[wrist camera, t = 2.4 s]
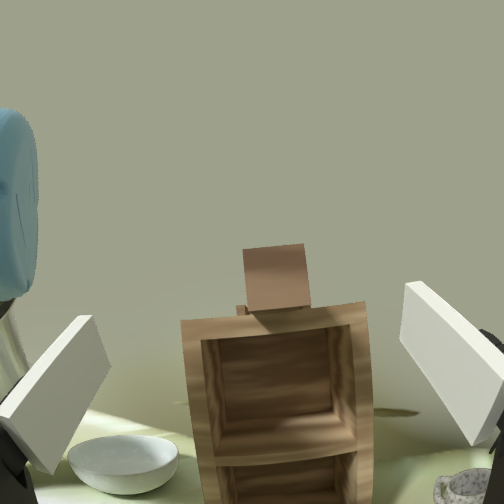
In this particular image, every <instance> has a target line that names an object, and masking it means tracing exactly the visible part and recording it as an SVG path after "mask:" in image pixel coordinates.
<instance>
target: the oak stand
mask: <svg viewBox="0 0 504 504" xmlns="http://www.w3.org/2000/svg"><path fill="white" fill-rule="evenodd" d="M236 309H237V316H233V317H220V318H207V319H193V320H181V333H182V343H183V354H184V364H185V374H186V382H187V391H188V399H189V407H190V415H191V422H192V429H193V436H194V442H195V449H196V455H197V461H198V467H199V473H200V478H201V484H202V489H203V494H204V499H205V504H372V493H373V467H374V416H373V389H372V371H371V357H370V344H369V333H368V324H367V314H366V305H365V301H363V302H356V303H349V304H343V305H335V306H327V307H320V308H311V306H310V305H309V306H306V307H303V308H300V309H297V310H294V311H285V312H275V313H265V314H255V315H251V314H250V312H248V308H247V307H246V306H245V305H239V306H236Z"/></svg>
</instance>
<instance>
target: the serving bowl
mask: <svg viewBox="0 0 504 504" xmlns="http://www.w3.org/2000/svg"><path fill="white" fill-rule="evenodd" d="M67 458H68V461H69V463H70V465H71V467H72V469H73V471H74V472H75V474H76V475H77V476H78V477H79V478H80V479H81V480H82V481H83V482H84V483H86V484H87V485H89V486H91V487H93V488H95V489H97V490H99V491H103V492H106V493H111V494H123V495H126V494H138V493H143V492H147V491H150V490H153V489H155V488H158V487H160V486H161V485H163V484H164V483H166V482H167V481H168V480H169V479H170V478H171V477H172V476H173V474H174V473H175V471H176V469H177V466H178V460H179V451H178V448H177V446H176V445H175V444H174V443H172V442H171V441H168V440H166V439H162V438H158V437H153V436H145V435H117V436H107V437H101V438H96V439H92V440H88V441H85V442H82V443H80V444H77V445H75V446H74V447H73V448H71V449H70V450H69V452H68V455H67Z"/></svg>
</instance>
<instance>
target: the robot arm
mask: <svg viewBox="0 0 504 504" xmlns="http://www.w3.org/2000/svg"><path fill="white" fill-rule="evenodd" d="M37 206H38V163H37V151H36V143H35V138H34V134H33V131H32V129H31V127H30V125H29V123H28V121H27V120H26V119H25V117H23V115H22V114H20V113H19V112H17V111H14V110H12V109H6V108H5V109H4V108H0V504H38V502H37V499H36V495H35V492H34V488H33V484H32V480H31V476H30V472H29V470H28V469H27V467H26V466H25V464H26V463H27V461H28V460H29V462H30V463H31V464H32V465H33V466H34V468H35V469H36V470H37V471H40V472H43V473H46V474H49V475H52V476H53V474H54V472H55V470H56V468H57V466H58V464H59V462H60V460H61V458H62V456H63V454H64V452H65V450H66V448H67V446H68V444H69V443H70V441H71V439H72V437H73V435H74V433H75V431H76V429H77V427H78V425H79V424H80V422H81V420H82V418H83V416H84V414H85V413H86V411H87V409H88V407H89V405H90V403H91V402H92V400H93V398H94V396H95V394H96V393H97V391H98V389H99V387H100V385H101V384H102V382H103V380H104V379H105V377H106V375H107V373H108V372H109V370H110V368H111V365H110V362H109V360H108V357H107V355H106V352H105V349H104V347H103V344H102V341H101V338H100V336H99V333H98V330H97V327H96V324H95V321H94V318H93V315H79V316H78V317H77V318H76V319H75V320H74V321H73V322H72V323H71V324H70V325H69V326H68V327H67V328H66V329H65V331H64V332H63V333H62V334H61V335H60V336H59V337H58V338H57V339H56V340H55V342H54V343H53V344H52V345H51V346H50V347H49V348H48V349H47V350H46V352H45V353H44V354H43V355H42V356H41V357H40V359H39V360H38V361H37V362H36V363H35V364H34V365H32V364H31V363H30V362H28V361H27V359H26V356H25V353H24V349H23V346H22V342H21V339H20V335H19V332H18V328H17V324H16V320H15V316H14V312H13V307H12V306H13V305H14V302H15V300H16V298H17V297H21V296H22V295H23V294H24V293H26V292H28V291H29V289H30V287H31V285H32V283H33V279H34V275H35V269H36V260H37V244H38V214H37ZM400 341H401V342H402V344H403V345H404V347H405V348H406V350H407V351H408V352H409V354H410V355H411V356H412V358H413V359H414V361H415V362H416V363H417V365H418V366H419V368H420V369H421V371H422V372H423V373H424V375H425V376H426V378H427V379H428V381H429V382H430V384H431V385H432V386H433V388H434V389H435V391H436V392H437V394H438V395H439V397H440V398H441V400H442V401H443V403H444V404H445V406H446V407H447V409H448V410H449V412H450V413H451V415H452V416H453V418H454V419H455V421H456V423H457V424H458V426H459V427H460V429H461V430H462V432H463V433H464V435H465V437H466V438H467V440H468V441H469V443H470V445H471V446H474V445H475V444H478V443H480V442H482V441H484V440H486V439H488V438H490V436H491V434H492V432H493V430H494V429H495V427H496V425H497V426H498V428H499V429H500V430H501V432H500V434H499V436H498V437H497V439H496V441H495V442H494V444H493V446H492V447H491V449H490V451H489V454H492V452H493V451H494V449H495V448H496V450H495V455H494V460H493V465H492V469H491V474H490V478H489V482H488V486H487V490H486V493H485V497H484V500H483V503H482V504H504V344H502V342H501V341H499V339H497V338H496V337H495V336H494V335H493V334H491V333H489V332H487V331H485V330H483V329H480V330H477V329H476V328H475V327H474V326H473V325H472V324H471V323H469V322H468V321H467V320H466V319H465V318H464V317H463V316H462V315H461V314H459V313H458V312H457V311H456V310H455V309H454V308H452V307H451V306H450V305H449V304H448V303H447V302H446V301H444V300H443V299H442V298H441V297H440V296H438V295H437V294H436V293H435V292H434V291H433V290H431V289H430V288H429V287H428V286H426V285H425V284H424V283H423V282H422V281H417V282H411V283H406V284H405V294H404V306H403V314H402V323H401V331H400Z"/></svg>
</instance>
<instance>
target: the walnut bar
mask: <svg viewBox="0 0 504 504" xmlns="http://www.w3.org/2000/svg"><path fill="white" fill-rule="evenodd" d="M243 260H244V271H245V282H246V293H247V304H248V312H250V313H251V314H253V315H255V314H265V313H275V312H285V311H294V310H297V309H300V308H303V307H306V306H309V305H311V298H310V290H309V282H308V273H307V265H306V257H305V250H304V244H293V245H283V246H273V247H262V248H253V249H243Z"/></svg>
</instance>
